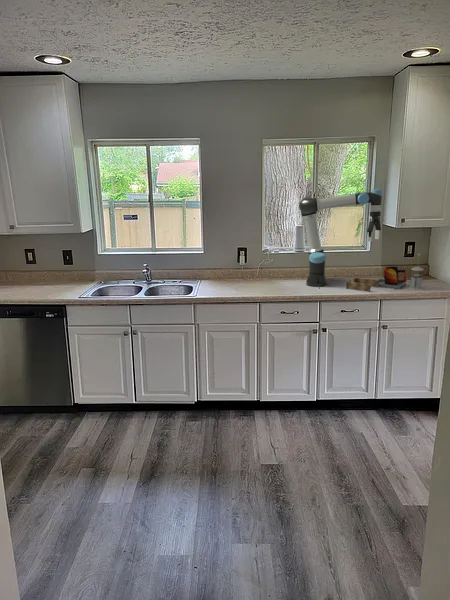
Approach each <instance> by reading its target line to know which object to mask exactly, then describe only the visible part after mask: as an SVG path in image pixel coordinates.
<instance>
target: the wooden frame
mask: <svg viewBox="0 0 450 600" xmlns="http://www.w3.org/2000/svg"><path fill="white" fill-rule="evenodd" d="M352 279H353V280H347V281H346V285H345V286H346V287H345V288H346V289H347V290H352V291H361V292H368V293H370V292H371V288H379V287H378V285H379V280H378V279H369V278H364V277H363V278H361V277H355V278H354V277H353V278H352Z"/></svg>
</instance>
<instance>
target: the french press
mask: <svg viewBox="0 0 450 600" xmlns="http://www.w3.org/2000/svg"><path fill="white" fill-rule="evenodd" d="M417 256H421V253H419V252H418V253H417ZM419 261H420V259H419V258H418V261H417V264H419ZM411 271H414V273H412V274H411V276H410V284H409V285H410V286H409V287H408V289H409V290H412V289H413V291H422V290H421V289H423V290H424V287H423V282H424V276H423V274H421V273H420V274H419V272H422V271H425V269H424V267H423V268H422V267H420V266H414V267H412V268H411Z"/></svg>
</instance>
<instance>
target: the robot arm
mask: <svg viewBox="0 0 450 600" xmlns="http://www.w3.org/2000/svg"><path fill="white" fill-rule="evenodd" d="M382 200H383V190H382V189H380V188H379V189H376V188H375V189H374V188H373V189H371V190H370V191H369V192H368V191H367V192H363V191H362V192H354V193H353V194H348V195H347V194H345V195H340V196H338V195H337V196H331V197H326V198H325V197H324V198H318V197H311V196H305V197H303V198H301V200H300V201H299V203H298V209H299V211H300V215H301V218H303V221H304V225H305V231H306V236H307V241H308V246H309V247H308V248H309V250H308V252H307V253H308V277H307V279H306V282H305V284H306V285H307V286H308V287H318V288H319V287H326V286H327V283H328V281H327V278H326V275H325V274H326V254H325V251H324V247H322V246H321V240H320V234H319V229H318V223H317V218H316V216H317V214H318V212H319V211H320V210H326V209H334V208H342V207H348V206H349V207H350V206H359V205H366V204H369V203H370V205H369V217H371V218H369V222H368V227H367V229H366V230H367V231H366V233H368V235H367V242H373V241H372V240H373V230H374V227H375V231H374V233H375V234H374V239H375V240H379V239H380V231H381V230H382V228H381V216H382V215H381V213H382V212H381V209H382Z"/></svg>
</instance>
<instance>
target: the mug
mask: <svg viewBox="0 0 450 600" xmlns="http://www.w3.org/2000/svg"><path fill="white" fill-rule="evenodd" d="M400 273H403V279H400V278H399V274H400ZM383 276H384V277H383V279H384V282H385V284H387V285H397V284H399V282H406V283H407V277H406V269H399V267H398V266H386V267H383Z"/></svg>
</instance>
